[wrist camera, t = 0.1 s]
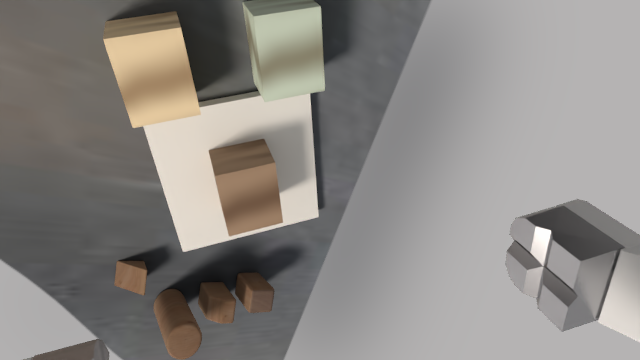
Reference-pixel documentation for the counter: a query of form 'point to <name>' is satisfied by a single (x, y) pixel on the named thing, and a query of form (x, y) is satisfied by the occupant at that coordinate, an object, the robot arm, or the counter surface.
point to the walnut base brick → (247, 186)
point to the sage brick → (285, 47)
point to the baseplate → (225, 130)
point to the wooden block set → (213, 302)
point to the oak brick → (152, 68)
